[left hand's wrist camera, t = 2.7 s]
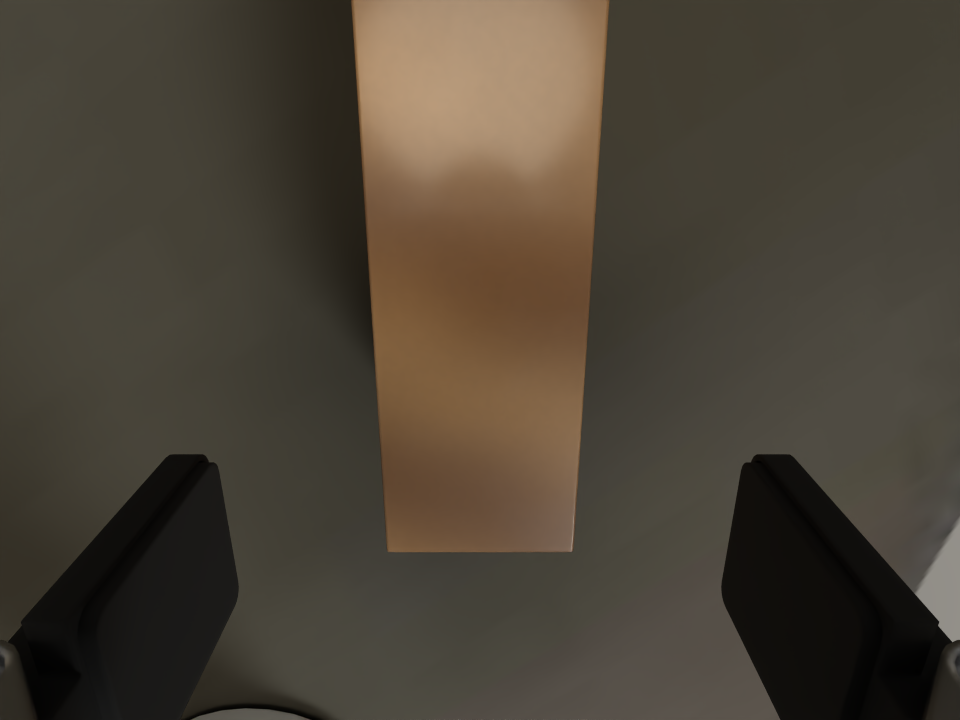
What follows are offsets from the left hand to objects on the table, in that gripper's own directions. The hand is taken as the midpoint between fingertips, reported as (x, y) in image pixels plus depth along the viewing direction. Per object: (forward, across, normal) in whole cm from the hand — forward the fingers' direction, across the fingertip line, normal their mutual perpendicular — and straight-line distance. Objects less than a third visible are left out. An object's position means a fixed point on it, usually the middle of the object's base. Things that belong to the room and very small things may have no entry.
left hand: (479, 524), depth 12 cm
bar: (+14, 0, -26) cm, 30 cm away
